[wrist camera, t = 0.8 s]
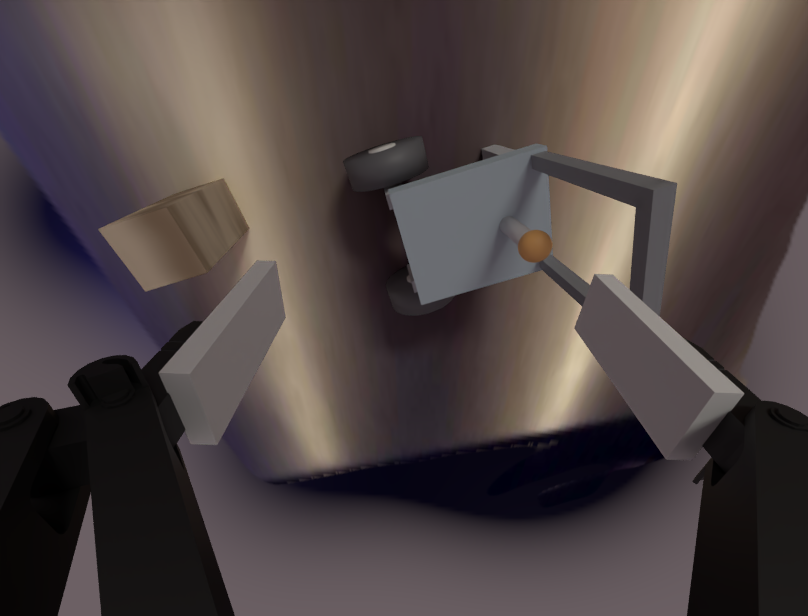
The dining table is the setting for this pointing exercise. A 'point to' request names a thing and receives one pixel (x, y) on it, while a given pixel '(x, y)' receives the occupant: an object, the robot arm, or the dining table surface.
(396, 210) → the trolley
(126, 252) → the block
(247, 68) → the dining table surface
